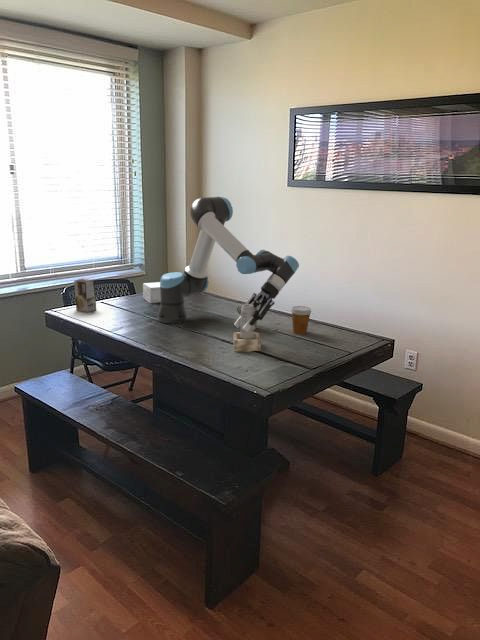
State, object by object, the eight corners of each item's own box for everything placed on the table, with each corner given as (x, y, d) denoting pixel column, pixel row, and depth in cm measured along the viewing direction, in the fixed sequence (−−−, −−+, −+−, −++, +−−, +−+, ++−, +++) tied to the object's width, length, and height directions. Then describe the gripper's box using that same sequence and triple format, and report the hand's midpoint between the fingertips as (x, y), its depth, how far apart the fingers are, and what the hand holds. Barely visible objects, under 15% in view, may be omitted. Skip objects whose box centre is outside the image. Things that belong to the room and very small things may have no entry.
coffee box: (96, 310, 282) (95, 280, 278) (87, 312, 277) (85, 282, 272) (85, 307, 287) (83, 278, 282) (75, 309, 281) (73, 280, 277)
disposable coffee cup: (311, 331, 255) (313, 307, 252) (307, 336, 247) (309, 311, 243) (292, 328, 258) (293, 304, 255) (287, 334, 249) (289, 309, 246)
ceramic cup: (263, 328, 258) (264, 308, 255) (249, 332, 251) (250, 311, 248) (243, 322, 266) (244, 303, 264) (230, 326, 259) (230, 306, 257)
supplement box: (150, 303, 298) (150, 287, 296) (142, 298, 309) (142, 282, 307) (178, 300, 306) (178, 285, 304) (169, 296, 317) (169, 280, 315)
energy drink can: (255, 340, 227) (256, 306, 222) (242, 341, 225) (243, 307, 221) (251, 336, 232) (252, 303, 228) (238, 337, 230) (239, 303, 226)
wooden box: (234, 351, 224) (234, 340, 223) (233, 343, 235) (233, 332, 233) (260, 351, 225) (260, 340, 223) (257, 343, 235) (258, 332, 234)
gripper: (290, 296, 224) (257, 339, 220) (264, 287, 239) (233, 327, 235) (281, 285, 219) (247, 328, 215) (255, 277, 235) (223, 317, 231)
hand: (240, 328), depth 225 cm, fingers closed on energy drink can, 6 cm apart
